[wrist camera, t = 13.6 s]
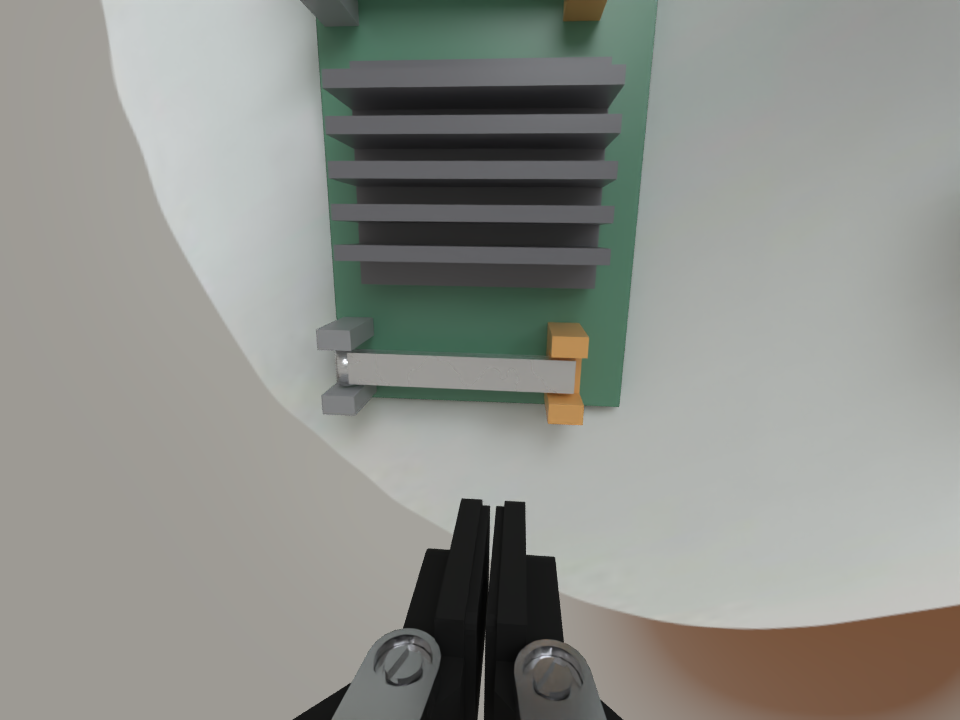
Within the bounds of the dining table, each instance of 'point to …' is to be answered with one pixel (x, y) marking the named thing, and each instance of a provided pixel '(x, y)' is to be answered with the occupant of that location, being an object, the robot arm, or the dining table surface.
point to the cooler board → (484, 184)
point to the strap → (456, 370)
